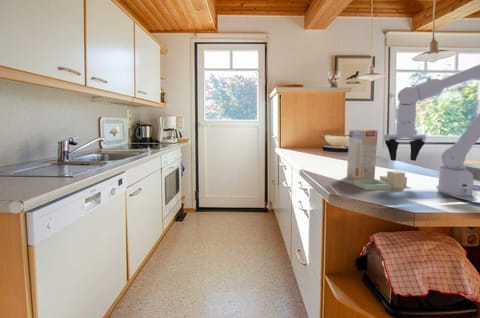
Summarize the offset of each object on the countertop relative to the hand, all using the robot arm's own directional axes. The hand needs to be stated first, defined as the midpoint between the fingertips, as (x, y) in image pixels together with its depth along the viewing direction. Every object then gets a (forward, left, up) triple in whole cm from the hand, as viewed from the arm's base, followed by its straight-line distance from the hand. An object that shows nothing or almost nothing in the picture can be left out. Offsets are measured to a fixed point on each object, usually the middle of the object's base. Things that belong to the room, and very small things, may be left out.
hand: (403, 160), depth 113 cm
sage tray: (-1, +12, -10) cm, 16 cm away
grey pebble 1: (+2, +5, -9) cm, 11 cm away
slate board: (-1, +3, -10) cm, 10 cm away
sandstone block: (-3, +4, -9) cm, 10 cm away
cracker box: (+12, +10, -10) cm, 18 cm away
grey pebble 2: (+1, 0, -9) cm, 9 cm away
